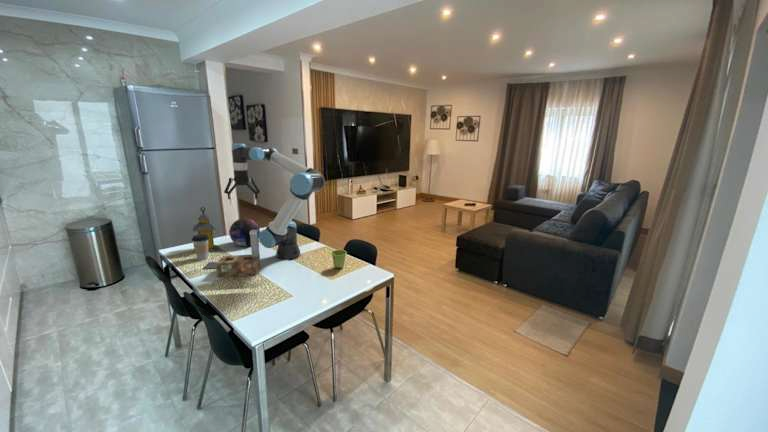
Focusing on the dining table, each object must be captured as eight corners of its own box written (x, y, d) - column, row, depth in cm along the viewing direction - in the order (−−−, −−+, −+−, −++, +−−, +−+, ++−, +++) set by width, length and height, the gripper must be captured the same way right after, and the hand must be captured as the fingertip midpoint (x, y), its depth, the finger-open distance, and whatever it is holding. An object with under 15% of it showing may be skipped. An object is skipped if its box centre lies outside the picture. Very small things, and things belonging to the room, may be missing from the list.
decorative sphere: (236, 241, 227) (233, 215, 222) (264, 241, 229) (262, 215, 224) (226, 250, 208) (223, 221, 204) (256, 249, 210) (254, 221, 206)
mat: (226, 262, 187) (226, 261, 187) (221, 268, 177) (221, 267, 177) (208, 263, 185) (208, 262, 185) (202, 269, 176) (202, 268, 176)
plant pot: (350, 265, 185) (349, 252, 183) (337, 270, 178) (337, 256, 176) (340, 261, 191) (340, 248, 189) (328, 265, 184) (327, 252, 182)
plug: (260, 256, 175) (257, 229, 172) (258, 258, 172) (256, 231, 168) (253, 256, 175) (251, 229, 171) (251, 259, 171) (249, 231, 168)
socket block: (260, 266, 181) (259, 254, 179) (256, 275, 169) (255, 261, 167) (224, 268, 177) (222, 255, 175) (217, 277, 165) (215, 263, 163)
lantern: (195, 248, 210) (190, 206, 203) (218, 245, 217) (214, 204, 210) (195, 255, 198) (189, 210, 191) (219, 251, 205) (215, 208, 198)
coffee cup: (190, 260, 189) (187, 237, 186) (204, 255, 198) (201, 233, 194) (201, 262, 186) (198, 239, 182) (214, 257, 194) (212, 235, 191)
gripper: (263, 169, 189) (265, 203, 194) (220, 169, 184) (223, 203, 189) (261, 170, 182) (263, 205, 187) (216, 170, 177) (219, 205, 182)
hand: (243, 204), depth 188 cm, fingers open, 13 cm apart
